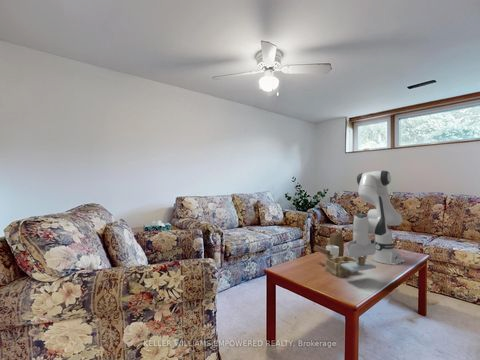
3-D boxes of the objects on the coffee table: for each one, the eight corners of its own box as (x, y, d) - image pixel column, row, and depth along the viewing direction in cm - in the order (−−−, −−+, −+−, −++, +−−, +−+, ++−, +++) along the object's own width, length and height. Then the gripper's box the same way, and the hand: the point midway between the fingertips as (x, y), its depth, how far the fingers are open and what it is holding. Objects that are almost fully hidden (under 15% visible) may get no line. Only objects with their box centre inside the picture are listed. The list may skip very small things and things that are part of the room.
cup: (332, 265, 170) (332, 249, 170) (323, 261, 179) (323, 245, 178) (341, 263, 174) (341, 247, 174) (332, 259, 182) (332, 244, 182)
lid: (363, 262, 153) (363, 253, 153) (376, 268, 144) (376, 258, 144) (340, 266, 147) (340, 256, 147) (352, 271, 138) (352, 262, 138)
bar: (316, 249, 178) (316, 245, 178) (330, 255, 164) (330, 251, 164) (314, 249, 177) (314, 245, 177) (327, 255, 163) (327, 251, 163)
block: (336, 260, 180) (336, 234, 180) (328, 258, 186) (328, 232, 186) (345, 258, 186) (345, 233, 185) (336, 255, 192) (337, 231, 192)
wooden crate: (344, 266, 168) (344, 252, 168) (359, 273, 156) (359, 258, 156) (323, 269, 163) (323, 254, 163) (337, 277, 150) (337, 261, 150)
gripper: (351, 242, 140) (351, 266, 140) (377, 240, 146) (377, 262, 146) (343, 240, 146) (343, 262, 146) (369, 237, 152) (369, 259, 152)
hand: (360, 262), depth 146 cm, fingers closed on lid, 3 cm apart
